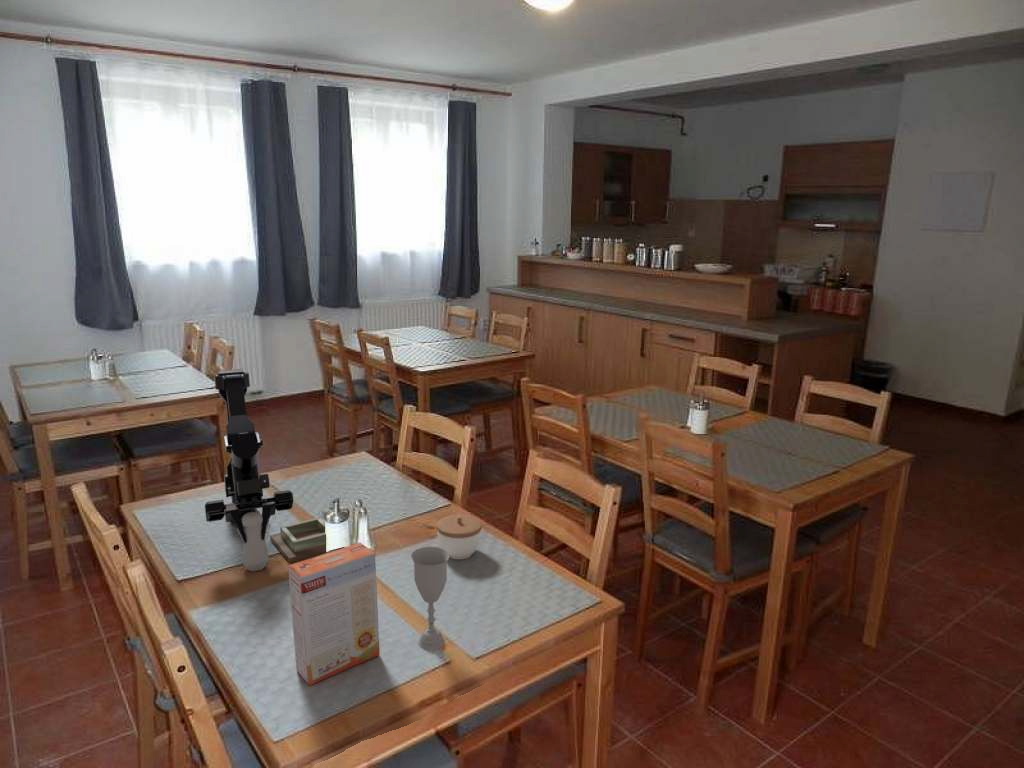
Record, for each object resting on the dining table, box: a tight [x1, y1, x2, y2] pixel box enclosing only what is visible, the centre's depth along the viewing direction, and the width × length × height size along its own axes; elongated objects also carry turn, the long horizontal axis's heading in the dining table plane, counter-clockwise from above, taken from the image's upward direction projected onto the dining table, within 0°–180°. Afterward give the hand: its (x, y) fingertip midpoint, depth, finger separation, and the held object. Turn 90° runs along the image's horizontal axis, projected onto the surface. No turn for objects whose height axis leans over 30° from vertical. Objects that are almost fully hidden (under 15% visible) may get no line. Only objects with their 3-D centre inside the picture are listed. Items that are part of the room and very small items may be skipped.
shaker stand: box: [269, 517, 326, 564], centre depth 170 cm, size 14×14×4 cm
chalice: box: [410, 546, 450, 651], centre depth 130 cm, size 7×7×18 cm
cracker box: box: [287, 542, 381, 686], centre depth 123 cm, size 14×6×21 cm, turn 129°
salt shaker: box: [240, 512, 270, 572], centre depth 157 cm, size 6×6×13 cm
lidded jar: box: [436, 513, 483, 560], centre depth 165 cm, size 11×11×9 cm
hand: (254, 541), depth 155 cm, fingers closed on salt shaker, 3 cm apart
